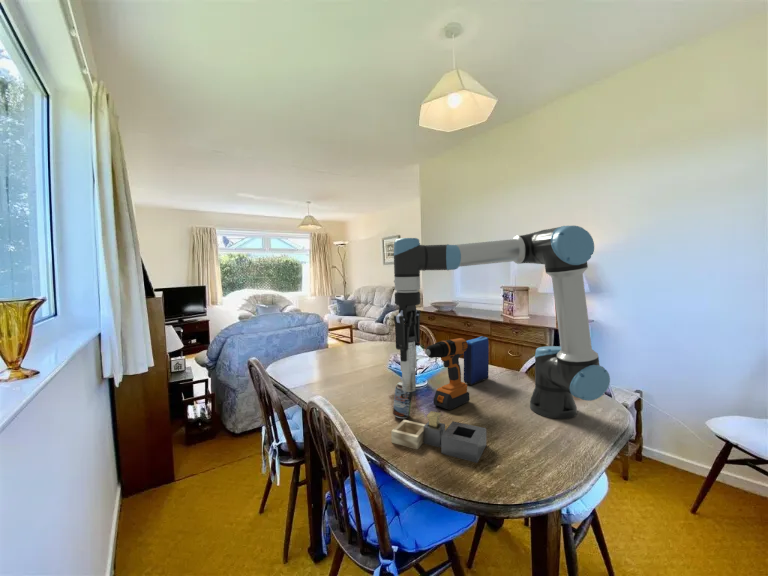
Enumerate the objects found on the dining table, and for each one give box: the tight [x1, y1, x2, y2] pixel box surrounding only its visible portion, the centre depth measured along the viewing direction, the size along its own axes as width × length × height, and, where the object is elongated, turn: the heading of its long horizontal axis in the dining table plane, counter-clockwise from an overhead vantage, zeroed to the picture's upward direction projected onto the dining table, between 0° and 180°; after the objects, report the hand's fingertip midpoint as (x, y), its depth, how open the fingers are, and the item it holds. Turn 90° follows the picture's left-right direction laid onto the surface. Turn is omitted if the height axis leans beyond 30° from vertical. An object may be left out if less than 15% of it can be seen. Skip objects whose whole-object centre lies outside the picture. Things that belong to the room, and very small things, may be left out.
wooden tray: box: [390, 419, 426, 450], centre depth 103 cm, size 8×8×4 cm
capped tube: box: [401, 335, 417, 393], centre depth 102 cm, size 4×4×16 cm
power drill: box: [424, 337, 471, 411], centre depth 129 cm, size 22×7×25 cm, turn 129°
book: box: [463, 335, 490, 386], centre depth 155 cm, size 14×5×20 cm, turn 130°
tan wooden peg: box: [426, 410, 442, 429], centre depth 101 cm, size 3×3×8 cm
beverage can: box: [392, 381, 413, 419], centre depth 121 cm, size 6×7×12 cm
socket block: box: [423, 420, 487, 464], centre depth 99 cm, size 16×10×6 cm, turn 60°
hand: (408, 369), depth 102 cm, fingers closed on capped tube, 4 cm apart
